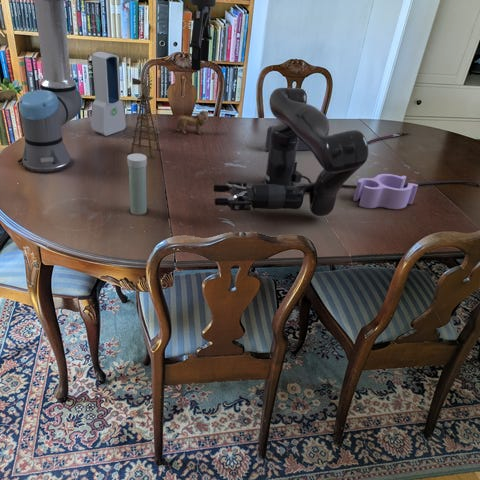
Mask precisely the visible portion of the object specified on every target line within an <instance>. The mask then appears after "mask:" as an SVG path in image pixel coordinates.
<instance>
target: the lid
mask: <svg viewBox="0 0 480 480" xmlns="http://www.w3.org/2000/svg"><path fill="white" fill-rule="evenodd" d="M126 162H127V163H126V165H127V166H128V167H129V166H130V167H133V168H142V167H145V166H146V167H147V165H148V158H147V156H146V155H145V154H144V153H133V154H131V153H130V154H128V155H127V158H126Z"/></svg>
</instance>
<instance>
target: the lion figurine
mask: <svg viewBox="0 0 480 480" xmlns="http://www.w3.org/2000/svg"><path fill="white" fill-rule="evenodd" d="M208 119H209V112H208V111H206V110H200V111H199V113H198V114H196V115H195V116H192V117H189V116H187V115H183V116H180V117H179V118H178V119H177V122H176V126H175V129H174V130H173V132H180V131H182V133H183V134H184V135H185V134H187V131H185V128H186V125H187V126H189V127H195V129H194V130H195V132H197V134H199V135H201V134H202V132H201V131H200V130H201V127H204V126H205V124H206V123H207V122H208ZM180 127H181V129H180Z"/></svg>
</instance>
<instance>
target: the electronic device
mask: <svg viewBox="0 0 480 480" xmlns="http://www.w3.org/2000/svg"><path fill="white" fill-rule="evenodd" d="M91 59H92V61H91V63H92V74H93V75H92V76H93V89H94V101H93V102H92V103H91V116H90V117H91V118H90V126H91V129H92V131H94V133H96V134H99V135H102V136H105V137H107V136H110V135H112V134H113V135H114V134H117V133H119V132H121V131H124V130H125V129H126V127H127V123H126V114H125V107H124V102H123V101H122V100H121V91H120V70H119V69H120V68H119V56H118V55H115V54H112V53H109V52H104V51H96V52H94V53H93V54H91Z"/></svg>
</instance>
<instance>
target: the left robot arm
mask: <svg viewBox="0 0 480 480" xmlns="http://www.w3.org/2000/svg"><path fill="white" fill-rule="evenodd" d="M33 1H34V9H35V17H36V25H37V35H38V41H39V50H40V51H39V52H40V58H41V67H42V75H43V77H42V78H41V80H39V83H38V84H39V89H37V90H36V89H35V90H33V91H28V92H25V93H24V94H22V95H21V96H20V98H19V100H18V105H19V106H18V111H19V114H20V119H21V125H22V132H23V136H24V148H23V153H22V157H20V159H18V160H17V163H18V164H20V163H22V166H23V168H24V169H25V170H27V171H29V172H33V173H39V174H46V173H56V172H61V171H63V170H66V169H67V168H69V167H70V166H71V163H72V159H71V155H70V153H69V151H68V150H67V149H68V148H67V147H66V145H65V143H64V140H63V132H62V126H64V125H65V124H67V123H68V122H70V121H71V120H73V119H75V118H76V117H77V116H78V115H79V114H80V112H81V110H82V109H83V104H84V103H83V97H82V93H81V92H80V91H79V90H78V88H77V84H76V81H75V80H74V79H72V76H71V66H70V55H69V44H68V43H69V42H68V33H67V22H66V13H65V0H33ZM189 1H190V2H189V3H190V5H193V6H195V7H196V10H194V11H193V20H192V21H193V22H192V31H191V38H190V43H189V45H188V46H189V48H191V63H190V64H191V66H190V67H191V69H190V70H191V71H197V72H201V68H202V67H201V66H202V65H201V64H202V62H209V57H210V56H209V55H210V41H212V40H213V36H212V30H211V29H212V28H211V27H212V26H211V25H212V24H211V10H212V9H211V8H213V7H215V6H216V4H217V3H216V2H217V0H189Z"/></svg>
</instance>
